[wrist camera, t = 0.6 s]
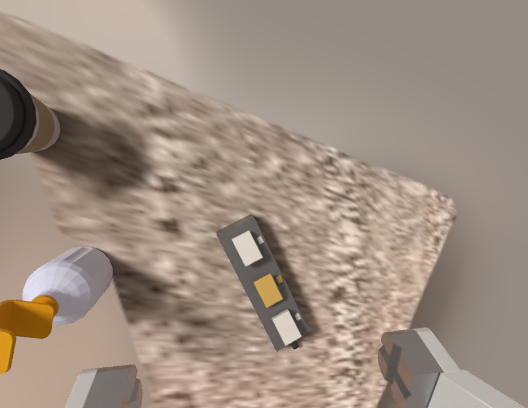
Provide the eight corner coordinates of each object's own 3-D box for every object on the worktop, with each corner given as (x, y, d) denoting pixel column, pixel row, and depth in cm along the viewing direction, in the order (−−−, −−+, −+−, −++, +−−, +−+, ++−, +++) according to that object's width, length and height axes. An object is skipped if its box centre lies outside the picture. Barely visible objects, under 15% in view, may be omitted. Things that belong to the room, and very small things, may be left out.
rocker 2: (280, 295, 56) (282, 298, 55) (264, 304, 56) (266, 308, 55) (270, 273, 54) (272, 276, 53) (253, 282, 54) (255, 286, 53)
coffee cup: (-15, 94, 48) (-108, 61, 34) (66, 86, 50) (11, 51, 36) (5, 169, 50) (-76, 167, 35) (82, 157, 52) (36, 152, 37)
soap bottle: (108, 301, 55) (36, 402, 31) (50, 293, 53) (-75, 395, 29) (118, 251, 54) (53, 314, 30) (60, 241, 52) (-58, 300, 28)
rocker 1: (261, 256, 54) (262, 257, 52) (245, 265, 53) (245, 266, 52) (248, 230, 54) (249, 230, 53) (231, 239, 53) (231, 239, 52)
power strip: (309, 334, 63) (317, 347, 58) (278, 352, 62) (284, 366, 57) (250, 214, 58) (255, 217, 54) (216, 231, 57) (217, 236, 53)
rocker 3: (300, 334, 56) (301, 336, 55) (284, 343, 56) (285, 345, 55) (287, 309, 57) (288, 310, 55) (271, 317, 56) (272, 319, 55)
